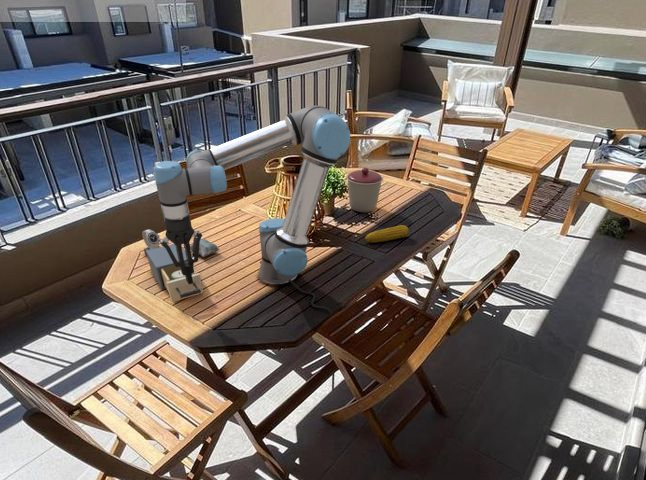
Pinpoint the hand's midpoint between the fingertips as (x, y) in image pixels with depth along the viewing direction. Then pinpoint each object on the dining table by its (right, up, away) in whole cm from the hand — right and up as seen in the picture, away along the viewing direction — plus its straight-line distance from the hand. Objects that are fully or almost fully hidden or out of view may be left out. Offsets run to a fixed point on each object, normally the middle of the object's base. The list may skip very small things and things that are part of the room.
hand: (189, 281), depth 148 cm
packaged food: (-8, +15, +41) cm, 44 cm away
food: (+71, +23, +54) cm, 92 cm away
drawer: (-7, -3, +15) cm, 17 cm away
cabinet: (-15, +4, +26) cm, 30 cm away
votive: (-8, -1, +16) cm, 18 cm away
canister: (+62, +44, +82) cm, 111 cm away
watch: (-28, +14, +39) cm, 49 cm away
